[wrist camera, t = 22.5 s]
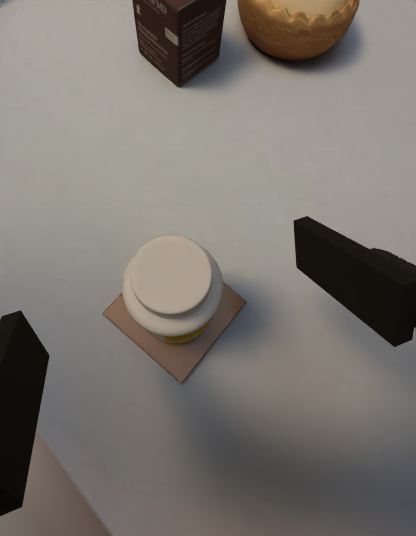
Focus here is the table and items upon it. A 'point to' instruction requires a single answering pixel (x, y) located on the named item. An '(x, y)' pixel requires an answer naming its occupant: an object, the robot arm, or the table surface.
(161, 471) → the table surface
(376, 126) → the table surface
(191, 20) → the box
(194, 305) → the supplement bottle
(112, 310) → the coaster
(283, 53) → the pastry
